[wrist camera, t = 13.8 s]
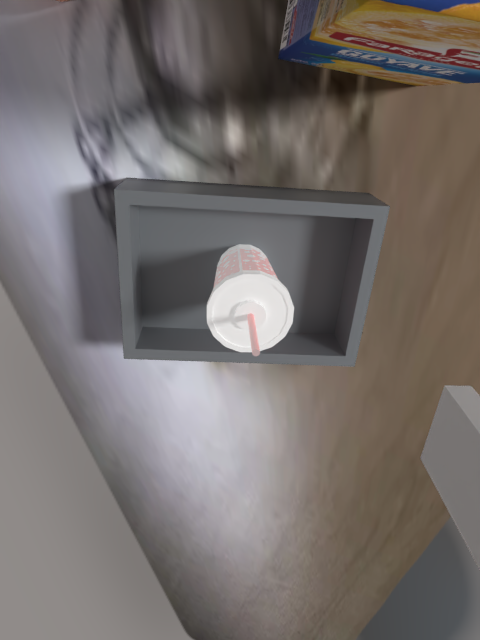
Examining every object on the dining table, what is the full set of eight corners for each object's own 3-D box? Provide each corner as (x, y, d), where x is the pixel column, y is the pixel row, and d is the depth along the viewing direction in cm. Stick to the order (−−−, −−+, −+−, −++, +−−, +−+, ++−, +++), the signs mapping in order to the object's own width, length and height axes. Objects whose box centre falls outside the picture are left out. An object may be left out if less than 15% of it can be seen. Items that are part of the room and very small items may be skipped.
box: (127, 177, 35) (113, 189, 31) (368, 193, 37) (389, 206, 32) (133, 330, 42) (123, 358, 37) (340, 338, 43) (354, 366, 39)
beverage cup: (215, 306, 40) (214, 402, 27) (201, 242, 37) (193, 315, 24) (282, 295, 40) (312, 386, 27) (273, 229, 37) (302, 297, 24)
